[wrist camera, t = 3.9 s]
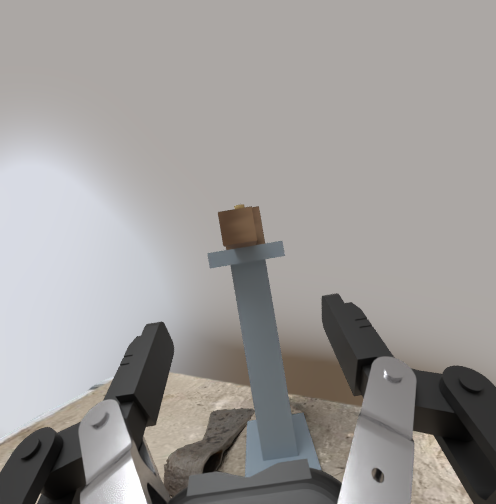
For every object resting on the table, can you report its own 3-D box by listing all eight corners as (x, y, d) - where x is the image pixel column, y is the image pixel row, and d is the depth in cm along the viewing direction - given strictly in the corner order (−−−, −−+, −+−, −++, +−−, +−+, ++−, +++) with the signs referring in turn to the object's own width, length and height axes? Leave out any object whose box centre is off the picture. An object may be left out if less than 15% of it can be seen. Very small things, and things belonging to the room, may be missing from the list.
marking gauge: (206, 248, 21) (193, 170, 21) (230, 251, 42) (223, 212, 42) (274, 237, 21) (260, 158, 21) (263, 246, 42) (257, 207, 42)
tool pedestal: (247, 496, 31) (207, 253, 31) (249, 432, 42) (219, 253, 42) (323, 484, 31) (282, 240, 31) (305, 424, 42) (274, 244, 42)
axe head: (214, 395, 52) (257, 396, 49) (216, 420, 51) (260, 423, 48) (146, 460, 33) (208, 469, 30) (148, 502, 32) (212, 515, 29)
